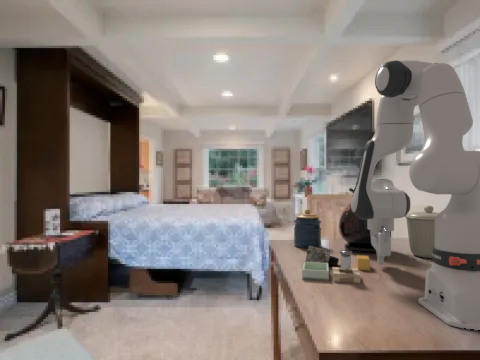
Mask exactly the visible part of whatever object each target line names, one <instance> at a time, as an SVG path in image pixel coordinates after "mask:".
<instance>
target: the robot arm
mask: <svg viewBox="0 0 480 360" xmlns="http://www.w3.org/2000/svg"><path fill="white" fill-rule="evenodd" d="M374 86H375V88H376V91H377V93H378V94H379V95H381V97H380V100H379V104H378V107H377V113H376V123H375V124H376V128H375V130H374V134H373V136H372V138H371V139H370V140H368V141H367V142H366V143H365V145H364V148H363V150H362V154H361V159H360V163H359V169H358V173H357V176H356V177H357V178H356V182H355V187H354V188H355V190H354V193H352V196H351V201H350V203H351V210H352V212H353V213H354V215H355V216H357V217H358V218H359V219H361V220H367V229H369V230H370V236H371V244H372V246H373V247H374V248H375V250H376V258H377V259H376V262H377V264H378V265H381V266H382V265H385V257H391V255H392V243H391V241H392V239H391V232H394V231H395V219H401V218H404V217H405V216H406V215H407V214H409V213H410V211H411V198H410V196H409V195H408V193H406V192H405V191H404V190H401V189H399V188H397V187H396V186H394V182H393V180H391V179H387V178H380V179H373V178H374V174H375V170H376V165H377V164H378V162H379V161H380V160H382V159H383V158H386V157H387V156H389V155H393V154H396V153H398V152H401V151H402V150H404V149H405V148H407V146H408V145H410V142H411V141H412V140H413V136H414V124H415V123H414V119H415V117H414V116H415V115H414V114H415V113H414V112H415V107H416V106H418V108H419V113H420V118H421V122H422V123H421V124H422V129H423V143H422V147H421V150H420V152H419V153H418V154H416V156H415V157H414V158H413V159H412V161H411V163H410V165H409V171H408V172H409V173H408V175H409V179H410V182H411V183H412V185H413V187H414V188H415V189H417V190H418V191H421V192H424V193H429V194H433V195H450V197H449V198H450V199H449V201H448V203H447V205H446V207H445V208H444V209H443V210H441V211H440V212H438V213H439V214H438V215H437V216H436V218H435V247H433V252H432V258H431V259H432V260H431V261H432V262H433V263H432V265H431V266H430V267H429V268H428V269H427V270H426V271H425V285H424V296H422V297H419V298H418V304H419V305H421V306H422V307H424V308H425V309H427V310H428V311H429V312H430V313H431V314H434V315H435V317H437V318H438V319H440V320H441V321H442V322H444V323H445V324H446V325H449V326H452V327H456V328H460V329H464V328H466V329H465V330H470V329H474V330H473V331H478V330H480V150H465V148H464V146H463V145H464V144H463V137H464V136H465V135H466V134H467V133H468V132H470V130H471V129H472V127H473V125H474V119H473V116H472V113H471V109H470V106H469V102H468V99H467V95H466V92H465V88H464V86H463V83H462V81H461V79H460V77H459V76H458V73H457V71H456V70H455V68H454V67H453V66H452V65H450V64H448V63H443V62H440V63H439V62H435V63H433V62H427V61H421V60H420V61H419V60H389V61H386V62H384V63H383V64H381V65H380V67H379V68H378V70H377V72H376V74H375V79H374ZM405 218H406V217H405Z"/></svg>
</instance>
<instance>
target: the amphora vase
mask: <svg viewBox="0 0 480 360" xmlns="http://www.w3.org/2000/svg"><path fill="white" fill-rule="evenodd" d="M354 190H355V187H350V188H348V191H349V192H351V193H352V194H353V193H354ZM338 232H339V234H340V236H341V238H342V239H343V240H344V241H345V242H346V243H344V248H345V250H349V251H352V253H353V252H354V253H360V254H361V253H362V254H375V253H376V250H375V248H374V247H373V246H372V244H371V236H370V230H369V229H367V220H361V219H359V218H358V217H357V216H355V215H354V213H353V212H352V210H351V202H350V203H349V204H348V205H347V206H346V207H345V208H344V209H343V210H342V213H341V215H340V218H339V222H338ZM376 254H377V253H376Z"/></svg>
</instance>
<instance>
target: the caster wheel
mask: <svg viewBox="0 0 480 360" xmlns="http://www.w3.org/2000/svg"><path fill="white" fill-rule="evenodd" d="M339 261H340V258H338V257H335V256H333V255H331V254H330V253H329V252H328V250H326V249H323V248H321V247H318V248H317V247H313V246H309V247H308V248H307V251H306V256H305V261H304V262H318V263H328V265H332V266H339Z"/></svg>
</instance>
